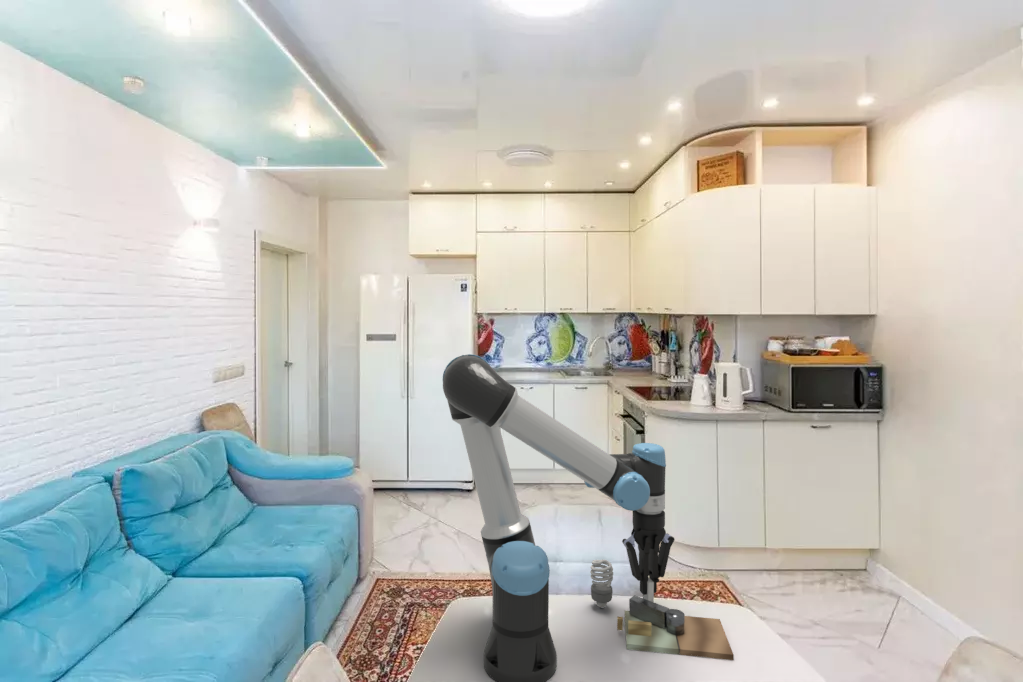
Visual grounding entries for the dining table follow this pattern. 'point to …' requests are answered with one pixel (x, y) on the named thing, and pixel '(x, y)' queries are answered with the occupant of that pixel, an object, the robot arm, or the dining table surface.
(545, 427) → the robot arm
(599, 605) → the light bulb
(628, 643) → the door board
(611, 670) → the dining table surface
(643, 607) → the bar
